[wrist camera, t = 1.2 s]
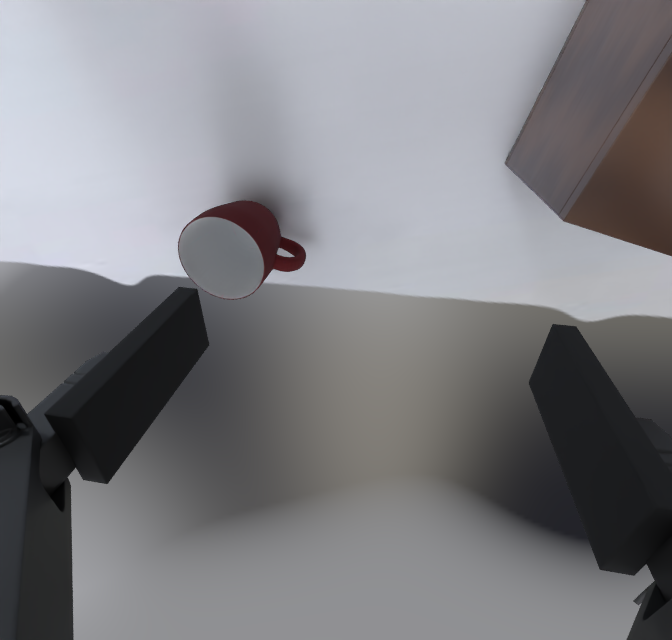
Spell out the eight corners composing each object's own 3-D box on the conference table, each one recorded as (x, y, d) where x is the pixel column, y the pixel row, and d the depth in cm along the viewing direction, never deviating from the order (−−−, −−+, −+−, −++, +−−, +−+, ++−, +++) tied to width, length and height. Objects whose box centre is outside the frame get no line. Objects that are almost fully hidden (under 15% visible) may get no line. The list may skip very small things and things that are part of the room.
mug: (320, 198, 39) (297, 232, 31) (311, 268, 43) (289, 314, 35) (222, 178, 39) (173, 206, 31) (224, 249, 44) (181, 289, 36)
